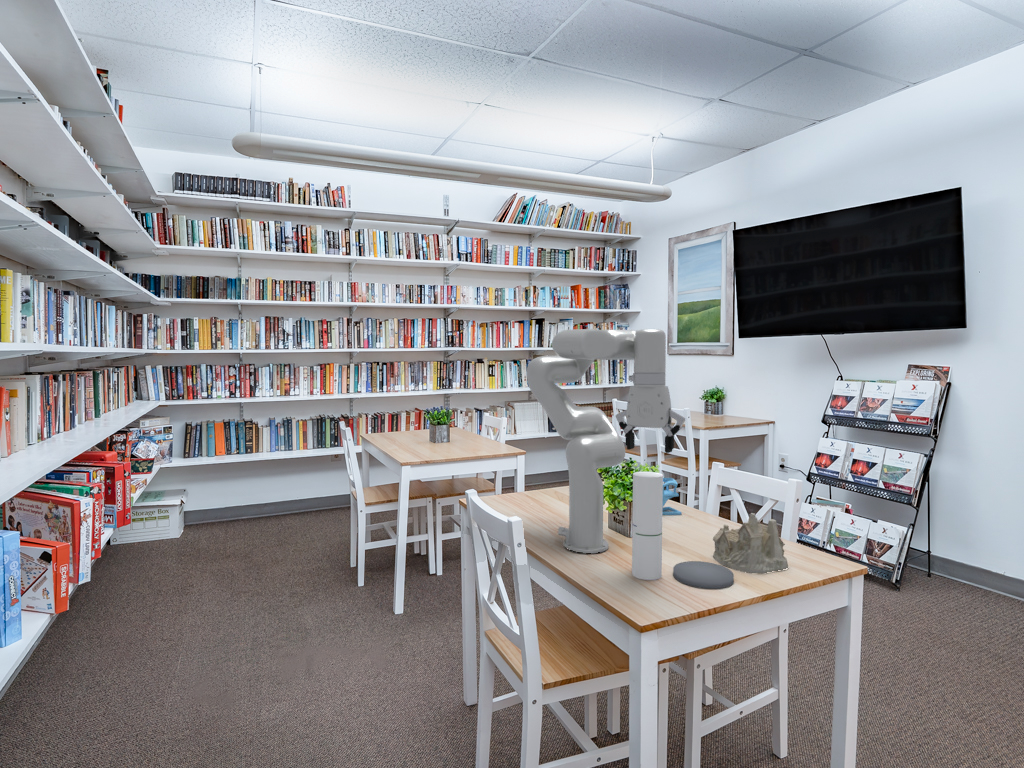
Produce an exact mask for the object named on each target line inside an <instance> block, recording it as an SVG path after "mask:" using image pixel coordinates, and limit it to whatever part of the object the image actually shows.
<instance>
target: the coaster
mask: <svg viewBox="0 0 1024 768" xmlns="http://www.w3.org/2000/svg"><path fill="white" fill-rule="evenodd" d="M672 568H673V569H672V572H673V573H672V574H673V575H672V576H673V578H674V579H675V580H676V581H677V582H680V583H681V584H683V585H686V586H690V587H693V588H698V589H706V590H720V589H725V588H726V589H727V588H728V587H731V586H732V585H734V583H735V582H734V579H735V578H734V577H735V575H734V573H733V571H732V569H730V568H729V567H726V566H724V565H722V564H717V563H714V562H708V561H701V560H700V561H699V560H697V561H696V560H691V561H683V562H682V561H681V562H679V563H676V564H675V565H673V567H672Z"/></svg>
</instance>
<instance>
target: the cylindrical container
mask: <svg viewBox="0 0 1024 768" xmlns="http://www.w3.org/2000/svg"><path fill="white" fill-rule="evenodd" d="M663 478H664V475H663V473H661V472H654V471H636V472H633V473H632V533H631V534H632V539H631V542H632V546H631V548H632V549H631V556H632V557H631V575H632V576H633V578H636V579H639V580H645V581H655V580H659V579H661V578H662V576H663V575H662V573H663V572H662V569H663V567H662V565H663V515H662V512H663V511H662V505H663V484H664V482H663Z"/></svg>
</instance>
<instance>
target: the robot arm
mask: <svg viewBox="0 0 1024 768" xmlns="http://www.w3.org/2000/svg"><path fill="white" fill-rule="evenodd" d="M666 342H667V339H666V333H665V331H664V330H662V329H659V328H658V329H655V328H648V329H647V328H646V329H639V330H638V329H637V330H635V329H634V330H633V329H596V328H595V329H594V328H585V329H581V328H579V329H577V328H576V329H564V330H561V331H559V332H557V333H556V334H555V335H554V336H553V339H552V342H551V347H552V350H553V352H554V353H555V355H541V356H538V357H535V358H533V359H532V360H530V362H529V363H528V364H527V368H526V379H527V385H528V387H529V390H530V392H531V393H532V395H533V396H534V398H535V399H536V400H537V402H538V403H539V404H540V405H541V406H542V408H543V409H544V412H545V413H546V414H547V417H548V418H549V420H550V422H551V425H552V426H553V427H554V429H555V431H556V432H557V434H558V435H559V436H560V437H561V438H562V439H563V440H567V441H569V442H567V445H566V448H565V456H566V457H565V458H566V463H567V469H568V481H569V482H568V485H569V486H568V489H569V491H568V492H569V493H568V494H569V495H568V497H569V498H568V499H569V500H568V503H569V505H568V507H569V508H568V512H569V513H568V514H569V515H568V518H569V519H568V527H563V526H559V527H558V529H557V535H558V536H562V537H565V539H564V540H563V547H564V546H565V547H566V548H568V549H570V550H573V551H577V552H583V553H582V554H586V553H591V554H598V552H600V553H603V552H606V551H607V550H608V549H609V542H608V541H607V540H606V539H604V483H603V480H602V478H601V476H600V475H599V472H598V470H597V469H601V468H602V469H603V468H609V467H610V468H611V467H616V466H618V465H620V464H621V463H622V462H623V461H624V460H625V457H626V449H627V450H633V449H635V447H636V445H635V438H636V437H635V432H634V430H635V428H650V429H663V431H664V433H665V434H666V436H664V453H666V454H669V453H672V452H673V450H674V448H675V435H676V434H677V433H678V432H679V431H680V430H681V429H682V427H683V425H684V423H685V421H686V418H685V417H684V416H682V415H681V414H679V413H677V412H675V411H673V409H672V401H671V400H672V399H671V395H670V389H669V386H668V385H666V364H667V363H666V362H667V361H666V357H667V356H666V355H667V354H666V349H667V346H666ZM595 360H600V361H601V360H603V361H604V360H605V361H607V360H608V361H614V360H615V361H616V360H619V361H621V360H622V361H624V360H625V361H626V360H627V361H632V360H633V373H632V374H631V375H628V381H629V382H632V384H633V385H630V386H629V390H628V397H627V405H626V409H625V410H622V411H621V412H619V413H617V414H615V419H616V421H617V423H618V425H619V427H620V428H621V429H622V431H623V433H624V434H625V443H624V441H623V438H622V437H621V435H620V434H619V433H618V431H617V430H616V428H615V427H614V425H613V424H612V422H611V420H610V419H609V418H608V416H607V415H606V413H605V412H604V411H603V410H602V409H600V408H599V407H597V406H591V405H589V406H579V405H576V404H575V403H574V402H573V400H572V398H571V397H570V395H569V394H568V393H567V392H566V391H565V390H564V389H563V388H561V387H560V386H558V385H557V384H570V383H572V384H573V383H576V382H578V381H579V380H581V378H583V377H584V375H585V373H586V372H587V371H588V369H589V368H590V366H591V365H592V364H593V363H594V362H595ZM625 417H626V421H625V419H624V418H625ZM672 419H674V420H675V421H676V423H675V425H674V426H672V425H671V424H672V421H673V420H672ZM625 446H626V447H625ZM565 547H564V548H565ZM566 548H565V549H566ZM568 549H567V550H568ZM570 550H569V551H570ZM573 551H572V552H573ZM577 552H576V553H577Z"/></svg>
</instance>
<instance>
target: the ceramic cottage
mask: <svg viewBox="0 0 1024 768" xmlns="http://www.w3.org/2000/svg"><path fill="white" fill-rule="evenodd" d="M767 522H768V524H766V525H765V524H763V523H761V522H760V519H758V517H757V515H756V513H753V512H751V513H750V514H749V517H748V520H747V522H743V523H742V524H741V526H740V528H736V529H735V528H731V529H730V528H729V525H728V524H724V525H723V527H720V529H719V530H718V531H717V532H716V533H715V535H714V536H713V538H712V541H713V542H714V552H713V558H714V559H715V560H716V561H717V562H718V563H719V565H721V566H724V567H726V568H728V569H730V570H734V571H738V572H741V573H745V572H746V574H752V573H766V574H768V573H767V572H772V571H778V570H783V569H786V568H788V567H789V563H788V560H787V558H786V557H785V556H784V555H785V550H784V546H785V545H786V544H785V543H784V542H783V540H782V538H781V537H780V536H779V530H778V525H777V520H776V519H773V518H770V519H769V520H768V521H767ZM788 569H789V568H788ZM778 572H779V571H778ZM772 573H773V572H772Z"/></svg>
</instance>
